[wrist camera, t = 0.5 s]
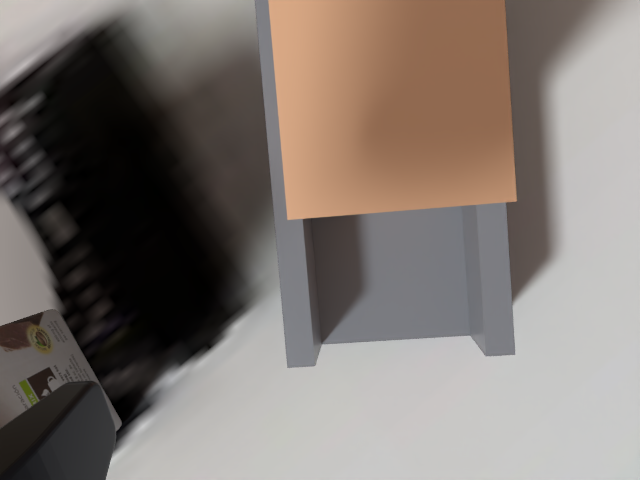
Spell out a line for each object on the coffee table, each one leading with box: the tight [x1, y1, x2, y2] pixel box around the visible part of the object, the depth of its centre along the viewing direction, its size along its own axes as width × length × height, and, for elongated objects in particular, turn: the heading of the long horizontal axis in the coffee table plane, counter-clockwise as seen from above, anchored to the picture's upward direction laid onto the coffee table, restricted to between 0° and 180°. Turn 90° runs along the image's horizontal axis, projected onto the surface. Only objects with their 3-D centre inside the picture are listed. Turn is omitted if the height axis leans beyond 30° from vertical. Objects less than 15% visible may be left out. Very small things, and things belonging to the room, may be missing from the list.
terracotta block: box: [268, 0, 517, 220], centre depth 17 cm, size 5×5×10 cm
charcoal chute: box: [255, 0, 515, 368], centre depth 21 cm, size 16×8×4 cm, turn 5°
